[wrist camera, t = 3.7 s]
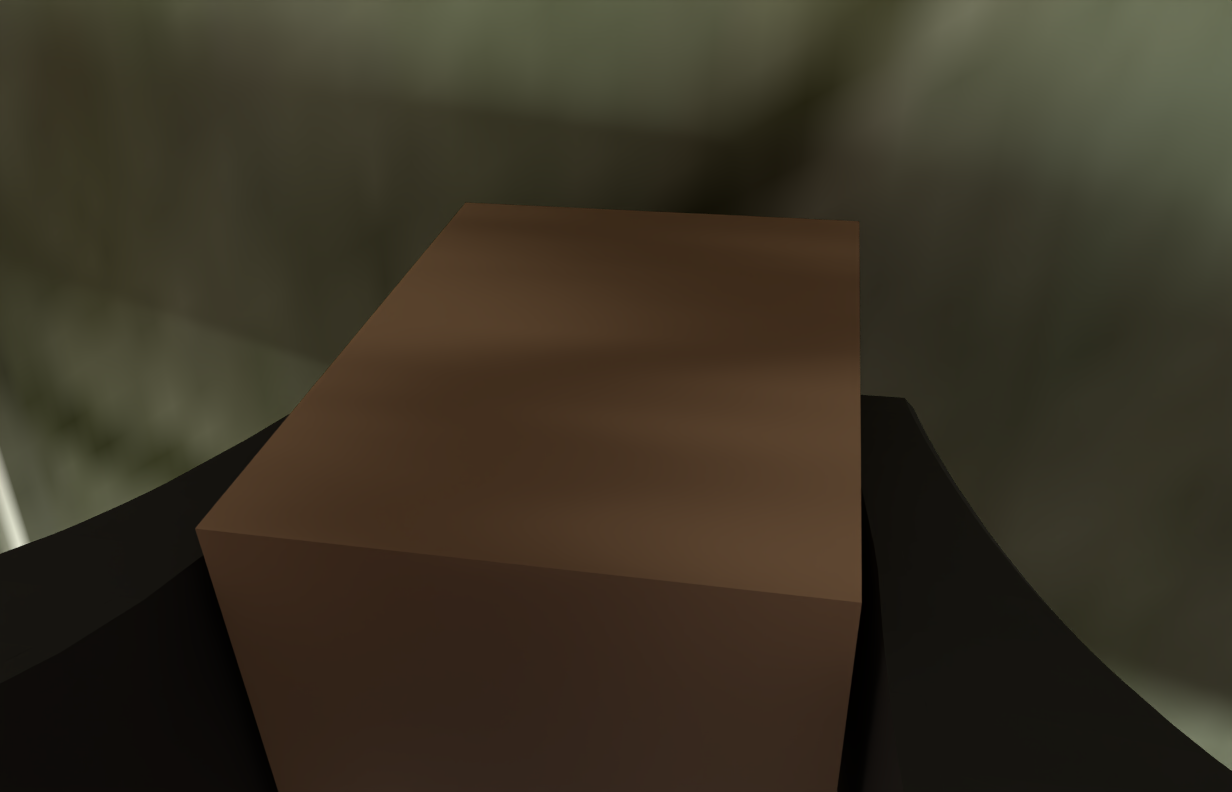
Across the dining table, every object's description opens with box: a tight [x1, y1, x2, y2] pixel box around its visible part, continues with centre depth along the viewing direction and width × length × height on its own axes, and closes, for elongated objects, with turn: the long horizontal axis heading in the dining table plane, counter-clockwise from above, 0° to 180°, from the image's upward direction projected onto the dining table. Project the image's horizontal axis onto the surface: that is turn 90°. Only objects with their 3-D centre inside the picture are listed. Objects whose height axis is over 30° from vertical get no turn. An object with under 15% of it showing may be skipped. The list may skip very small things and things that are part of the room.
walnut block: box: [195, 203, 862, 792], centre depth 10 cm, size 4×4×6 cm
